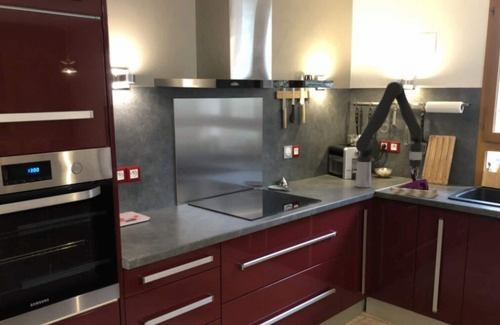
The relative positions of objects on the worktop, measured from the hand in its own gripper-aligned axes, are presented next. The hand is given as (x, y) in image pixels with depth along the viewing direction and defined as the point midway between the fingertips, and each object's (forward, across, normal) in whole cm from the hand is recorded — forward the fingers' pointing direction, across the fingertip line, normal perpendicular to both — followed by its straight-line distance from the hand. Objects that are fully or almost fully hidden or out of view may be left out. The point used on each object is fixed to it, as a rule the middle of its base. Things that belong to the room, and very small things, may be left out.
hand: (414, 185), depth 289 cm
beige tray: (+4, +8, +1) cm, 9 cm away
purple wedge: (+5, +4, -1) cm, 6 cm away
